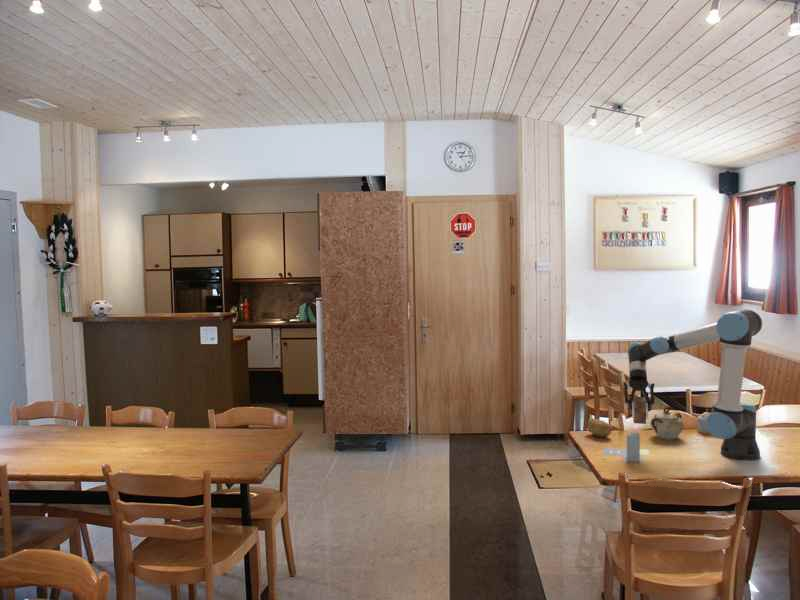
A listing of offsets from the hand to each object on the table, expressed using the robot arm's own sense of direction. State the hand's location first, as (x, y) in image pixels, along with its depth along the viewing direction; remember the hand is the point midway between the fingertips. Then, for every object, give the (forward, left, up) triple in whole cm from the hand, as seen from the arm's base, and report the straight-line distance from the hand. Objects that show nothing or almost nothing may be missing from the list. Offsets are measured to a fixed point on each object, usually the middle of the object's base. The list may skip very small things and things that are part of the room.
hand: (640, 416), depth 273 cm
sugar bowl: (-3, -34, -17) cm, 38 cm away
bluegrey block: (0, +9, -17) cm, 19 cm away
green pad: (+1, -3, -17) cm, 18 cm away
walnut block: (+1, -3, -3) cm, 5 cm away
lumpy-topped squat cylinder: (-18, -57, -18) cm, 62 cm away
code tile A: (+10, +3, -17) cm, 20 cm away
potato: (+24, -18, -17) cm, 35 cm away
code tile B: (0, +9, -17) cm, 19 cm away
